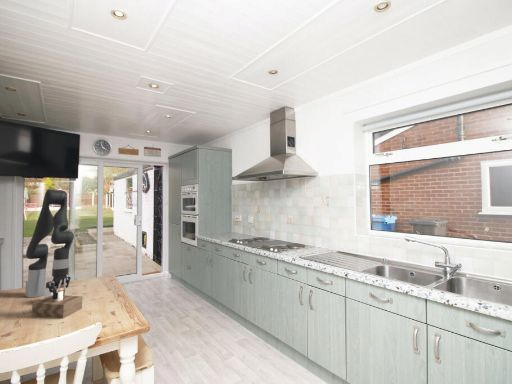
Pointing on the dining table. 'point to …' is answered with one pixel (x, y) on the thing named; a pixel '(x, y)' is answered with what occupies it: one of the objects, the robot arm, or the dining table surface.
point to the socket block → (56, 307)
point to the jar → (47, 291)
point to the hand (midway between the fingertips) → (58, 297)
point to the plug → (60, 294)
